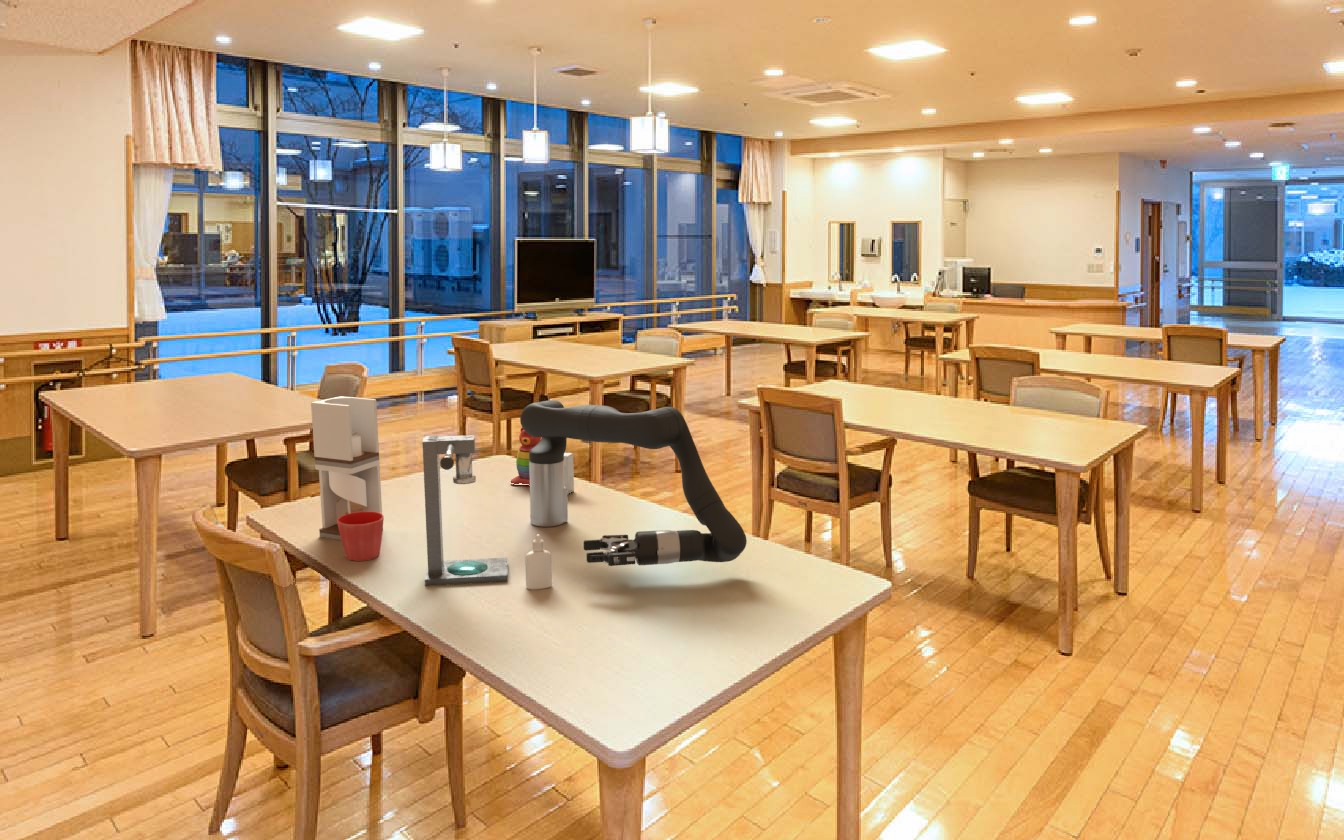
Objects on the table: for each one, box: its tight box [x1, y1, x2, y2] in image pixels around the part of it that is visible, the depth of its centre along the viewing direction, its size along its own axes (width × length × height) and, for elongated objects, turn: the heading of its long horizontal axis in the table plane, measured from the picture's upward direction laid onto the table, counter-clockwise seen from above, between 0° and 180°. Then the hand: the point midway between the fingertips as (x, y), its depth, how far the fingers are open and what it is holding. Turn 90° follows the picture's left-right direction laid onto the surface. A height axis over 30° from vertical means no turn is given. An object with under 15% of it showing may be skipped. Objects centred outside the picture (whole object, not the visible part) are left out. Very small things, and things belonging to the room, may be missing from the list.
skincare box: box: [564, 452, 575, 495], centre depth 285 cm, size 6×4×12 cm
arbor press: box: [421, 434, 509, 587], centre depth 207 cm, size 18×25×32 cm
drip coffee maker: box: [310, 395, 384, 541], centre depth 241 cm, size 11×11×35 cm
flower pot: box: [337, 511, 385, 562], centre depth 227 cm, size 11×11×10 cm
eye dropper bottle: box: [524, 534, 553, 590], centre depth 207 cm, size 4×6×12 cm
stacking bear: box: [510, 427, 542, 485], centre depth 295 cm, size 11×10×18 cm
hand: (585, 551), depth 209 cm, fingers open, 8 cm apart
